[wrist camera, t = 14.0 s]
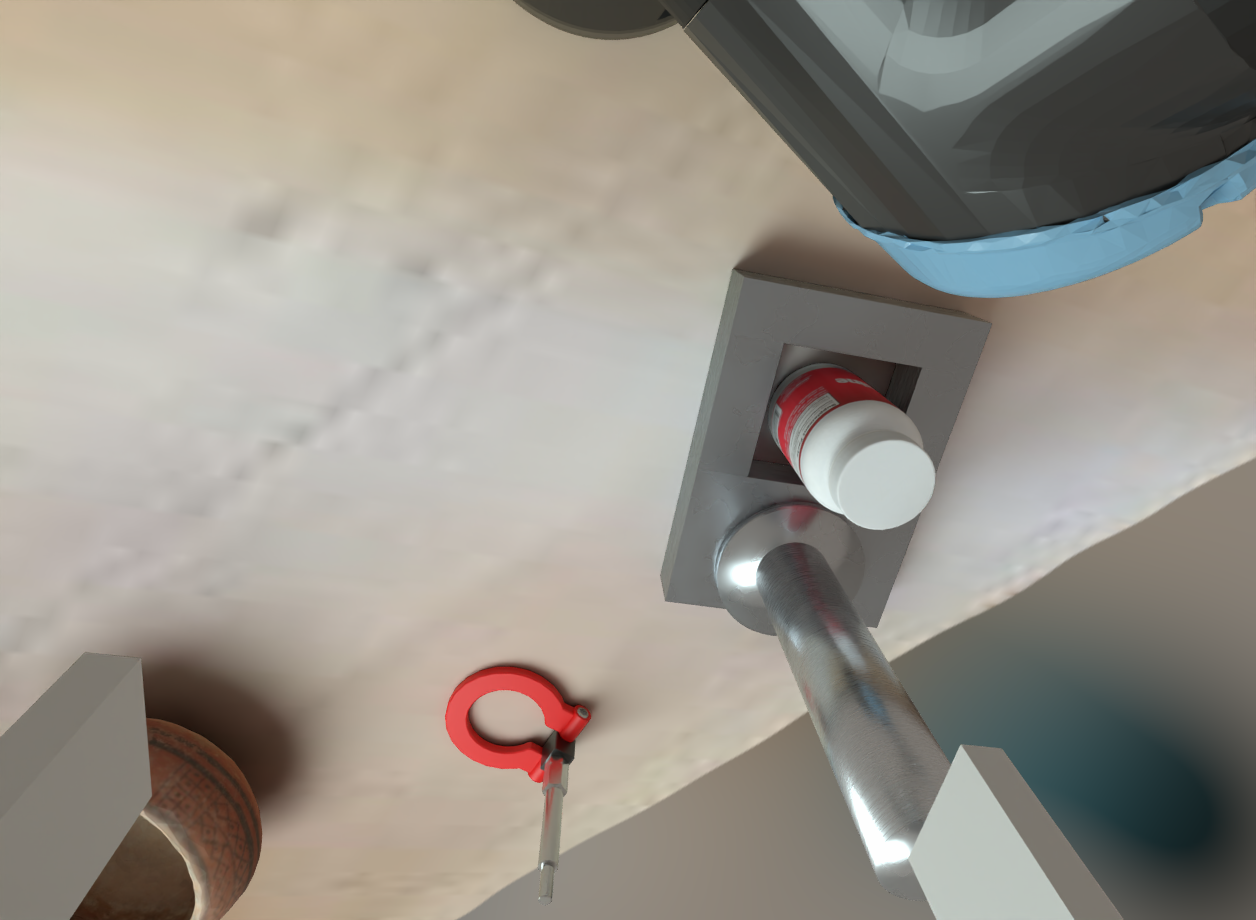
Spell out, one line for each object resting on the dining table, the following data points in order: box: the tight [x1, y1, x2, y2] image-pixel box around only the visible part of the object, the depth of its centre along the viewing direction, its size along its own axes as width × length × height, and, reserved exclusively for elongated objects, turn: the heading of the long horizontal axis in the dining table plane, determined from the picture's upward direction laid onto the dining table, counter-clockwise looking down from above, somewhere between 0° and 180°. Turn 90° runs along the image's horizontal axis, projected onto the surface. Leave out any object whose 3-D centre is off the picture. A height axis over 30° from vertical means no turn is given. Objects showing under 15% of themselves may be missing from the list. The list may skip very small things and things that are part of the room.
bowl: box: [70, 718, 262, 920], centre depth 47 cm, size 16×16×10 cm
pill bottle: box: [768, 363, 936, 530], centre depth 39 cm, size 6×6×11 cm
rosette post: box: [660, 269, 992, 901], centre depth 34 cm, size 21×14×23 cm, turn 169°
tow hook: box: [445, 667, 591, 905], centre depth 46 cm, size 8×13×9 cm
